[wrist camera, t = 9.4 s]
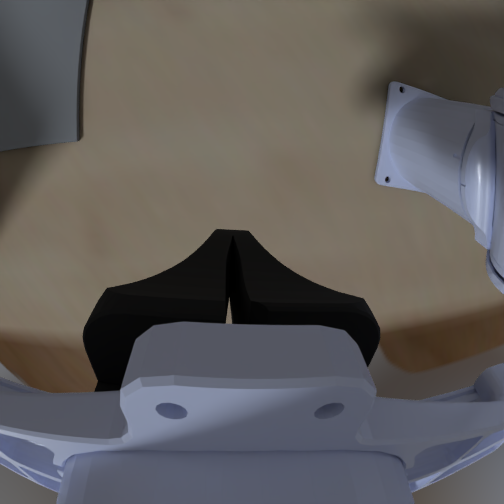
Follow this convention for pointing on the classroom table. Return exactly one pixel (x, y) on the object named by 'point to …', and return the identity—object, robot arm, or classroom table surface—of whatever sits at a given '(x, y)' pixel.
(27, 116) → the mat
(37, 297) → the classroom table surface
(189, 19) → the classroom table surface
